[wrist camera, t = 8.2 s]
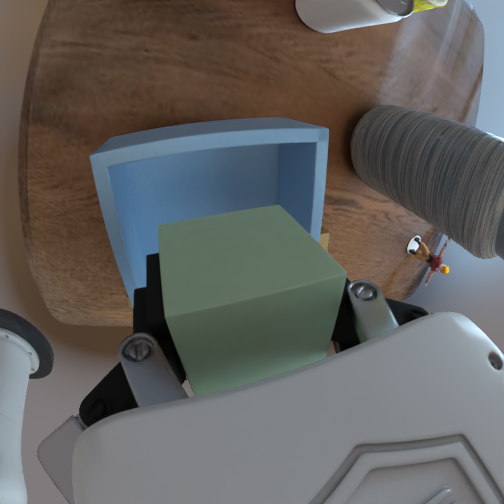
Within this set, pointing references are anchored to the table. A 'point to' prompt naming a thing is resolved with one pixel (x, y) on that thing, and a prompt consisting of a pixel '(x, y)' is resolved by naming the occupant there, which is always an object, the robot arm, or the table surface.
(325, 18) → the can
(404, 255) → the table surface
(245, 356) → the block
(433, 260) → the action figure
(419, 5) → the yellow lemon pot
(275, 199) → the light blue walled tray
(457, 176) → the vase
